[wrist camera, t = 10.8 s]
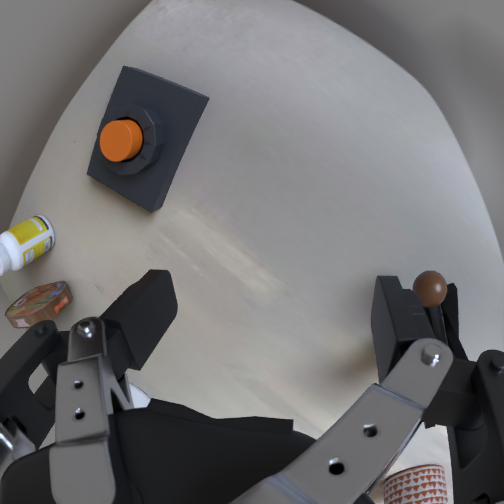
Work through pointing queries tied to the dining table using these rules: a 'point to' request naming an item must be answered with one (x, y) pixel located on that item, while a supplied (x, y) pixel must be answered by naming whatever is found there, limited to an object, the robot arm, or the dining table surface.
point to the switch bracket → (450, 326)
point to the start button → (121, 140)
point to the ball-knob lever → (432, 300)
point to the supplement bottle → (25, 243)
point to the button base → (148, 135)
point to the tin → (39, 305)
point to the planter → (417, 486)
